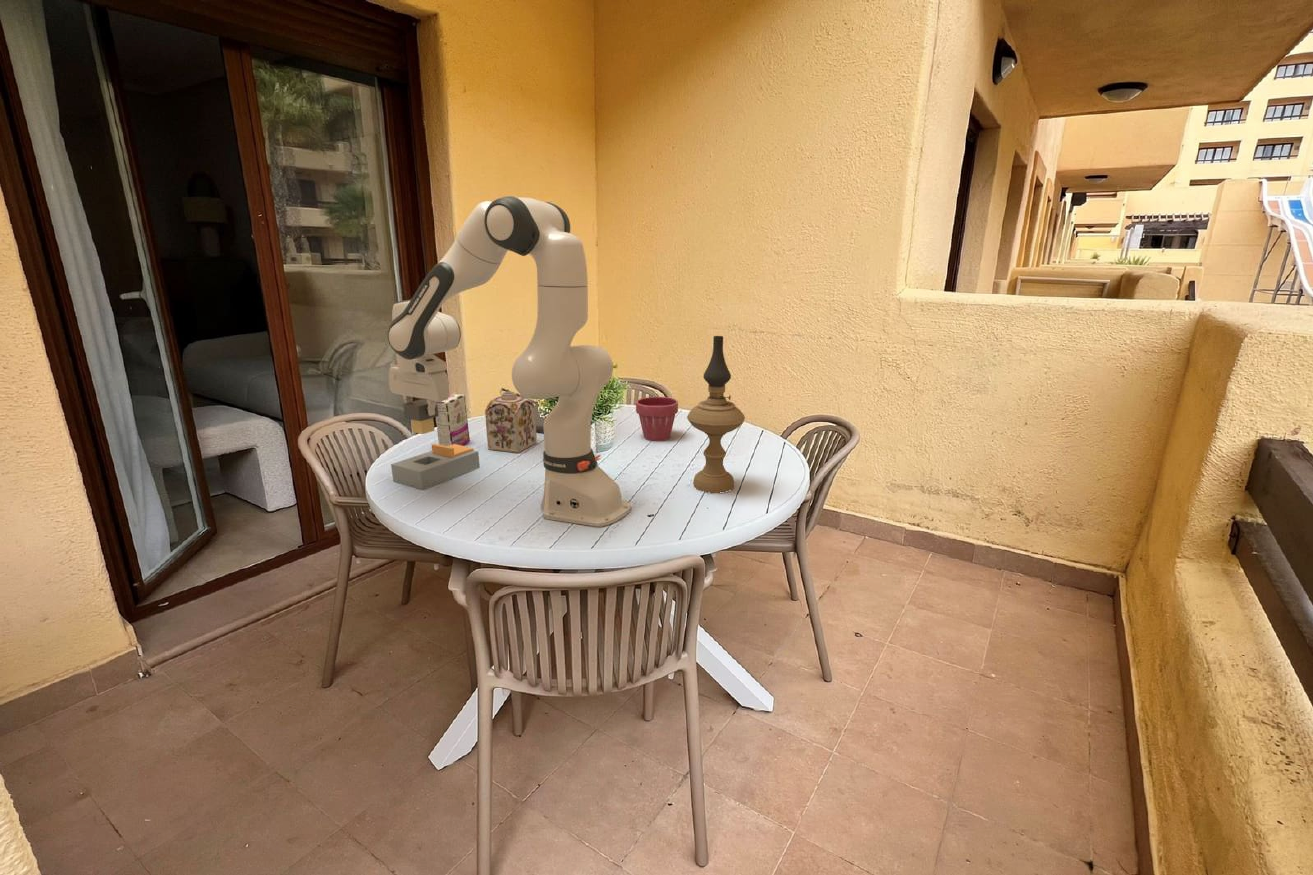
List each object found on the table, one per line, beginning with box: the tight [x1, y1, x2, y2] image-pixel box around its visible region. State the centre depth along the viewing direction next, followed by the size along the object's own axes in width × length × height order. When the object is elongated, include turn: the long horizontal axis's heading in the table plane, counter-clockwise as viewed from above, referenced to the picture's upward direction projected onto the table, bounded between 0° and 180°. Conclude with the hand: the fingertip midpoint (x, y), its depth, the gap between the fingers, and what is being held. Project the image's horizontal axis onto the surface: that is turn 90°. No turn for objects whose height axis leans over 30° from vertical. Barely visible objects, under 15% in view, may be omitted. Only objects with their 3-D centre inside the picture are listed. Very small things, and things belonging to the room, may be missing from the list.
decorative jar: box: [484, 391, 538, 454], centre depth 187 cm, size 12×12×18 cm
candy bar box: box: [435, 393, 471, 446], centre depth 187 cm, size 11×5×16 cm, turn 168°
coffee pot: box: [499, 387, 545, 433], centre depth 207 cm, size 21×12×15 cm, turn 87°
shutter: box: [431, 443, 475, 458], centre depth 168 cm, size 8×8×3 cm
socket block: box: [390, 445, 481, 491], centre depth 164 cm, size 12×20×5 cm, turn 150°
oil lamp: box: [686, 335, 746, 494], centre depth 151 cm, size 15×15×40 cm
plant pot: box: [635, 396, 679, 442], centre depth 198 cm, size 14×14×13 cm
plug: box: [403, 398, 438, 435], centre depth 158 cm, size 6×6×8 cm
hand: (421, 413), depth 157 cm, fingers closed on plug, 6 cm apart
